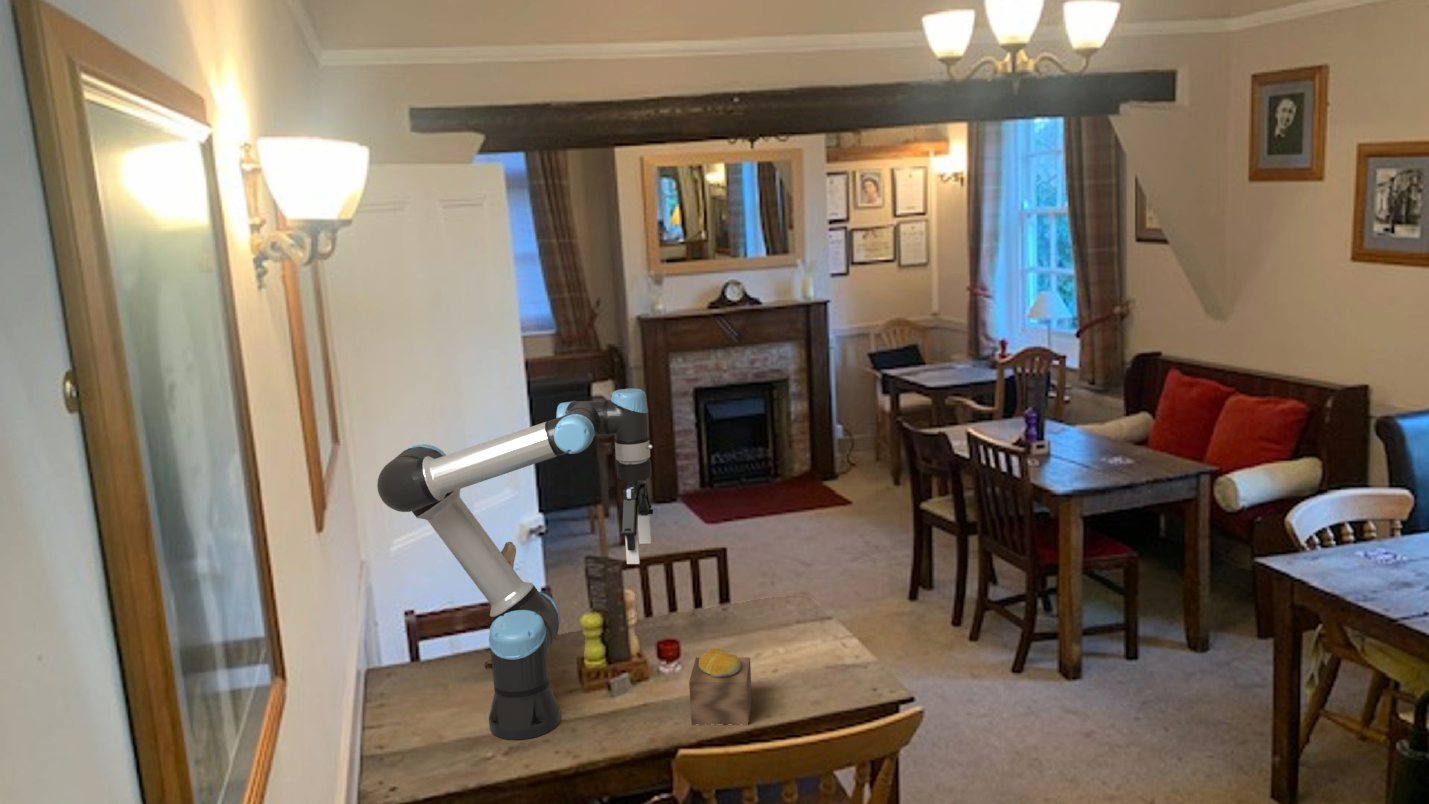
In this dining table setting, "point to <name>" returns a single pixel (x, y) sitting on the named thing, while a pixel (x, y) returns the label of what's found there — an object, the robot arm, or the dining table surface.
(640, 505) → the robot arm
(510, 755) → the dining table surface
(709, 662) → the bread roll
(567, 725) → the dining table surface
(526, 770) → the dining table surface
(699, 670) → the walnut block
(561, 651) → the dining table surface
